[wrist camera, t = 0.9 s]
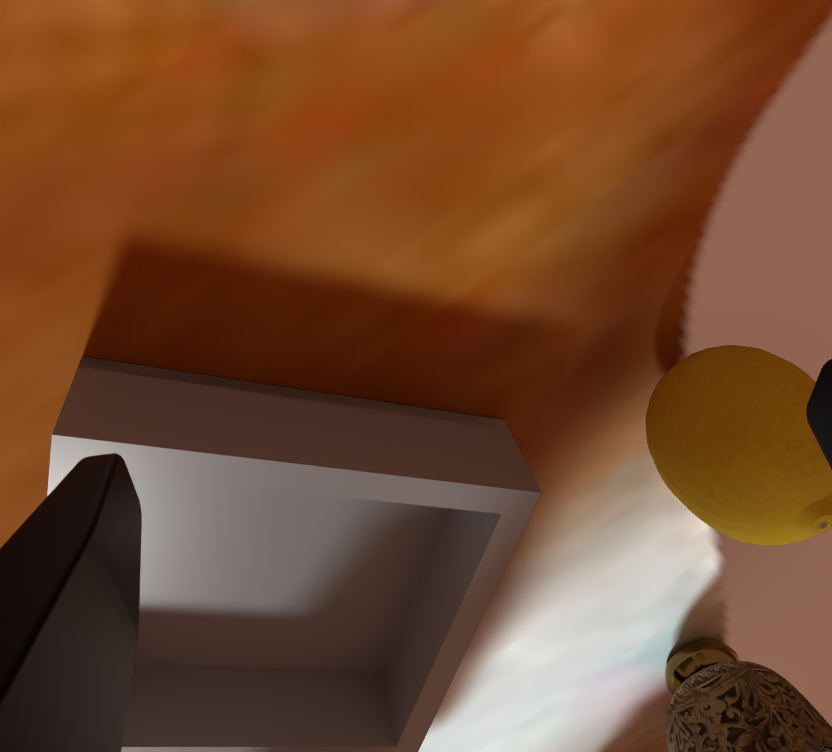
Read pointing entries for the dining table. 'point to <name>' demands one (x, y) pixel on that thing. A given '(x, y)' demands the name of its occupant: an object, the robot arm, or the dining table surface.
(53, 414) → the dining table surface
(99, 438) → the bin
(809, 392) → the lemon
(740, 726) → the cup
